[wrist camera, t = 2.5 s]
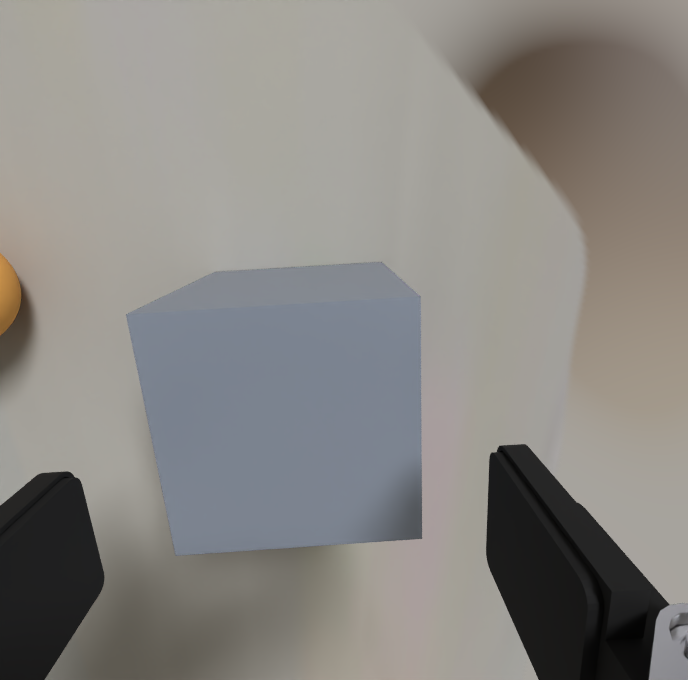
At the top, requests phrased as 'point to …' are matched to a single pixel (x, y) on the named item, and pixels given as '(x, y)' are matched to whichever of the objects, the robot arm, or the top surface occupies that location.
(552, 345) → the top surface
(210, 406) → the pale blue-grey cube
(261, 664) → the top surface
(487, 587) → the top surface
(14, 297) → the ball
